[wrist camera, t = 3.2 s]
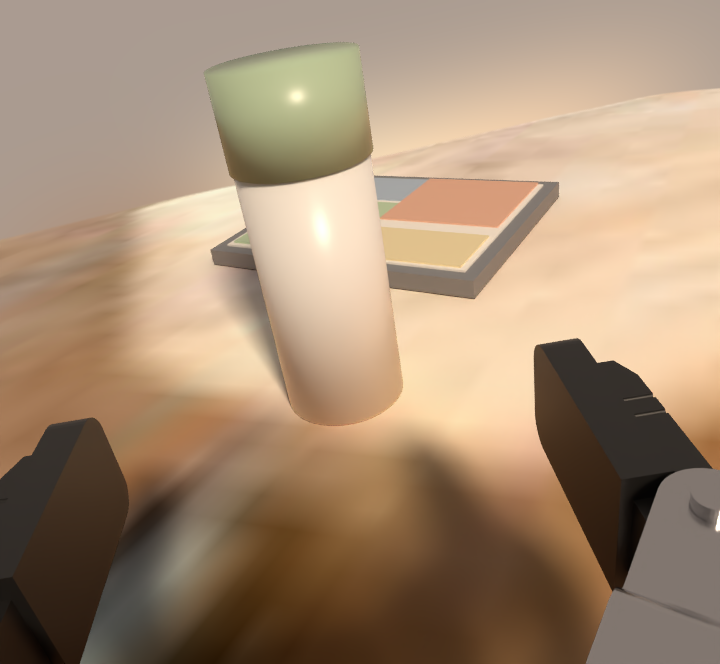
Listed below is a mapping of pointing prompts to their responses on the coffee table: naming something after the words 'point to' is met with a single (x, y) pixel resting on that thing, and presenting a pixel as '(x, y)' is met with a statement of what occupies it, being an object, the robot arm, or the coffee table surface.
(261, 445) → the coffee table surface
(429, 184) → the picture board
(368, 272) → the marker
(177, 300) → the coffee table surface
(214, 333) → the coffee table surface
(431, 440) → the coffee table surface
